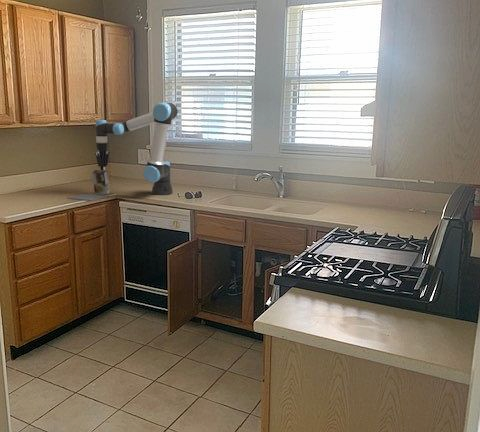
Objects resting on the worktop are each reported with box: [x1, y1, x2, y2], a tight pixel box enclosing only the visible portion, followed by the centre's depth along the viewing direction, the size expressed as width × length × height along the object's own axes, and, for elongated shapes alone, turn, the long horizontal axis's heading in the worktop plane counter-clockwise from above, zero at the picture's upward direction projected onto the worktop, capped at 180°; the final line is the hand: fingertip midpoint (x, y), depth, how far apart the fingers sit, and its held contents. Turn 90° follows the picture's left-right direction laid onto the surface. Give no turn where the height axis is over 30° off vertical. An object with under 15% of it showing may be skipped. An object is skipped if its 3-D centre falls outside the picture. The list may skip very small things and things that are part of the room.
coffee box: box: [91, 169, 111, 196], centre depth 334 cm, size 9×6×16 cm
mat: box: [67, 192, 109, 202], centre depth 324 cm, size 20×18×1 cm
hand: (103, 175), depth 337 cm, fingers closed
